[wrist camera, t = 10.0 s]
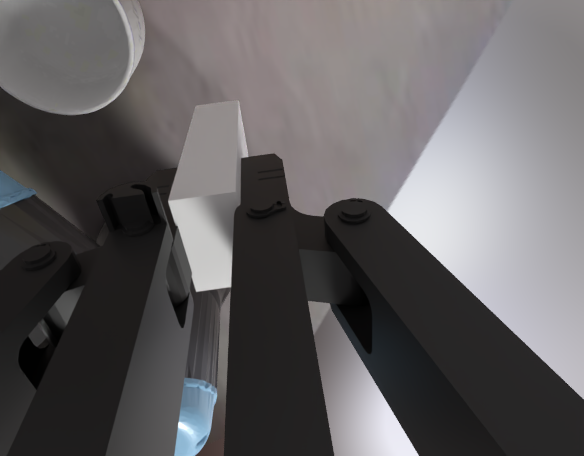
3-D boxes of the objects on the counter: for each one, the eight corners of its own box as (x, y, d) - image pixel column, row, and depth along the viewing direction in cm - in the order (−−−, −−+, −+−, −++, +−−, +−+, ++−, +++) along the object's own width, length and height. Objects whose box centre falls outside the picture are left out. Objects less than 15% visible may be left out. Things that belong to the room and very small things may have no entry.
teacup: (181, 20, 35) (166, 39, 28) (103, 111, 38) (74, 147, 32) (15, -146, 28) (-54, -172, 22) (-60, -19, 32) (-139, -8, 25)
